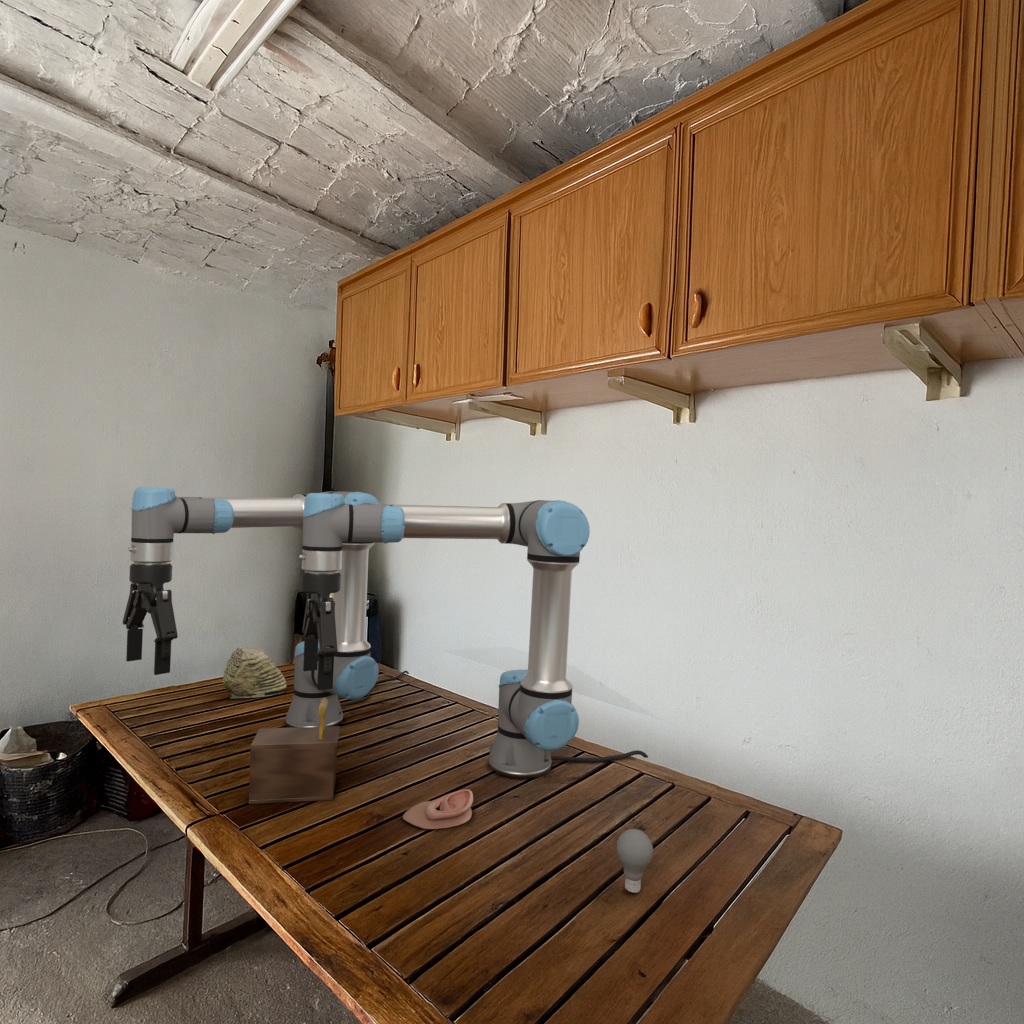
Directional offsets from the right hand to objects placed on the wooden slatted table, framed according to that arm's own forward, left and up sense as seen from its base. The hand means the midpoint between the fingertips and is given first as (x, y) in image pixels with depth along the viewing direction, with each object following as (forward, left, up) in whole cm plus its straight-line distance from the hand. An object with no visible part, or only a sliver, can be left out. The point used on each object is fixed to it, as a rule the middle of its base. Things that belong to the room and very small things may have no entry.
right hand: (317, 679), depth 125 cm
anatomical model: (-24, +6, -28) cm, 37 cm away
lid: (+3, -12, -16) cm, 21 cm away
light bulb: (-49, +39, -28) cm, 69 cm away
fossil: (+13, -83, -28) cm, 88 cm away
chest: (+3, -12, -28) cm, 30 cm away
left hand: (+32, -17, 0) cm, 36 cm away
